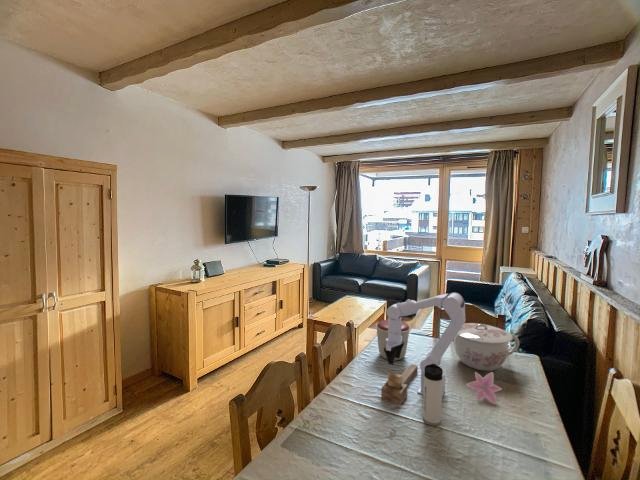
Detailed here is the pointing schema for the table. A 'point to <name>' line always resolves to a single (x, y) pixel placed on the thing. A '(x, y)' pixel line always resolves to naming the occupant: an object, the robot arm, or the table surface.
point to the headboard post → (400, 395)
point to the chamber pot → (483, 346)
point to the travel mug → (432, 395)
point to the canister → (383, 335)
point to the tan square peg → (394, 380)
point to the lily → (485, 387)
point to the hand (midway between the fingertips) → (393, 360)
